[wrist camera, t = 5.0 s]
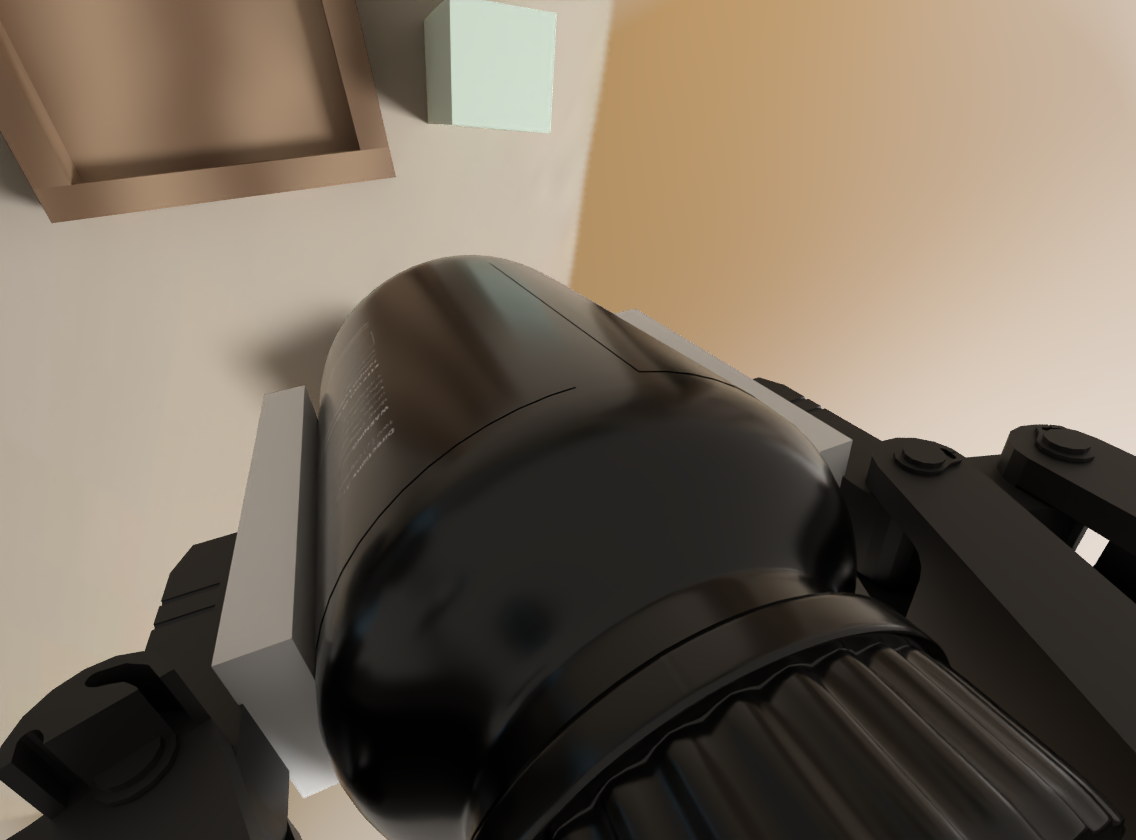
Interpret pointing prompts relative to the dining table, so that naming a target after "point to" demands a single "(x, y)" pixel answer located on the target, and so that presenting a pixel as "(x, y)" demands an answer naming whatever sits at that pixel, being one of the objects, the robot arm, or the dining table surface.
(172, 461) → the dining table surface
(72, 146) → the walnut tray
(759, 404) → the supplement bottle
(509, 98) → the sage cube
